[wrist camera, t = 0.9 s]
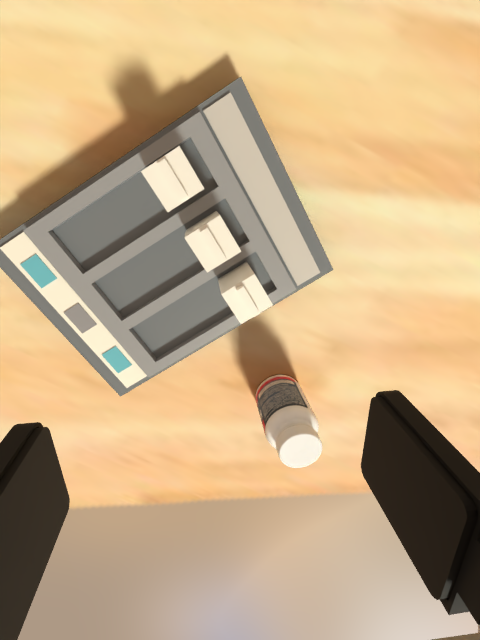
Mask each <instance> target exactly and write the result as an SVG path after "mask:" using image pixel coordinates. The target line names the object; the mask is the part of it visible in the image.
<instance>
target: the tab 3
mask: <svg viewBox="0 0 480 640" xmlns="http://www.w3.org/2000/svg"><path fill="white" fill-rule="evenodd" d="M218 283H219V287H220V291H221V295H222V296H223V298H224V299H225V301H226V302H227V304H228V305H229V307H230V309H231V310H232V312H233V313H234V315H235V316H236V318H237V319H238V321H239V322H240V324H242V323H244V322H246V321H247V320H249V319H251V318H252V317H255V316H257V315H259V314H260V313H261V312H262V311H264V310H266V309H267V308H269V307H271V306H272V305H273V304H272V302H271V301H270V299H269V297H268V296H267V294H266V292H265V290H264V289H263V287H262V285H261V284H260V282H259V280H258V279H257V277H256V275H255V274H254V272H253V271H252V269H251V268H250V266H249V265H248V263H247V262H245V263H243V264H241V265H240V266H238V267H237V268H235V269H233V270H232V271H230V272H228V273H227V274H225V275H224V276H222V277H220V278H219V279H218Z"/></svg>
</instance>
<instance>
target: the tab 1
mask: <svg viewBox="0 0 480 640" xmlns="http://www.w3.org/2000/svg"><path fill="white" fill-rule="evenodd" d="M141 172H142V174H143V175H144V177H145V179H146V180H147V182H148V183H149V185H150V186H151V188H152V189H153V191H154V192H155V194H156V195H157V197H158V198H159V200H160V201H161V203H162V205H163V206H164V208H165V209H166V211H167V212H169V211H171V210H173V209H174V208H176V207H177V206H179V205H180V204H182V203H183V202H185V201H186V200H188V199H189V198H191V197H193V196H194V195H196V194H197V193H199V192H200V191H202V190H203V189H204V187H203V185H202V184H201V182H200V180H199V179H198V177H197V175H196V173H195V172H194V170H193V168H192V167H191V165H190V163H189V162H188V160H187V158H186V156H185V155H184V153H183V151H182V150H181V148H180V146H178V147H177V148H175V149H174V150H172V151H171V152H169V153H168V154H166V155H165V156H163V157H162V158H160V159H159V160H157V161H156V162H154V163H153V164H151V165H150V166H148V167H147V168H145V169H144V170H142V171H141Z"/></svg>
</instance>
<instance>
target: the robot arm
mask: <svg viewBox="0 0 480 640" xmlns="http://www.w3.org/2000/svg"><path fill="white" fill-rule="evenodd" d="M361 469H362V473H363V476H364V478H365V480H366V482H367V483H368V485H369V487H370V489H371V490H372V492H373V494H374V496H375V497H376V499H377V501H378V503H379V504H380V506H381V508H382V509H383V511H384V513H385V515H386V517H387V518H388V520H389V522H390V523H391V525H392V527H393V529H394V530H395V532H396V534H397V536H398V538H399V539H400V541H401V543H402V545H403V546H404V548H405V550H406V552H407V553H408V555H409V557H410V559H411V560H412V562H413V564H414V566H415V567H416V569H417V571H418V572H419V574H420V576H421V578H422V580H423V581H424V583H425V585H426V587H427V588H428V590H429V592H430V593H431V595H432V596H433V597H434V598H435V599H437V600H438V599H440V601H441V602H442V604H443V606H444V607H445V609H446V611H447V612H448V614H449V615H451V614H457V613H463V612H469V611H470V613H471V614H472V616H473V617H474V619H475V621H476V622H477V624H478V633H475V634H468V635H461V636H454V637H447V638H440V639H433V640H480V473H479V472H478V471H477V470H476V469H475V468H474V467H473V466H472V465H471V464H470V463H469V462H468V460H467V459H466V458H465V457H464V456H463V455H462V454H461V453H460V452H459V451H458V450H457V449H456V448H455V447H454V446H453V445H452V444H451V443H450V442H449V441H448V440H447V439H446V438H445V437H444V436H443V435H442V434H441V433H440V432H439V431H438V430H437V429H436V428H435V427H434V426H433V425H432V424H431V423H430V422H429V421H428V420H427V419H426V418H425V417H424V416H423V415H422V414H421V413H420V412H419V411H418V410H417V409H416V408H415V406H414V405H413V404H412V403H411V402H410V401H409V400H408V399H407V398H406V397H405V396H404V395H403V394H402V393H401V392H399V391H397V390H394V391H383V392H378V393H377V394H376V397H373V398H372V399H371V403H370V409H369V416H368V422H367V429H366V436H365V442H364V449H363V455H362V462H361ZM68 509H69V495H68V491H67V488H66V484H65V481H64V478H63V474H62V471H61V467H60V464H59V461H58V457H57V454H56V450H55V447H54V444H53V440H52V437H51V433H50V430H49V429H48V428H47V427H43V425H42V424H41V423H38V422H37V423H26V424H17V425H14V426H13V427H12V429H11V430H10V431H9V432H8V434H7V435H6V436H5V438H4V439H3V440H2V442H1V443H0V640H17V639H18V636H19V634H20V631H21V629H22V626H23V623H24V621H25V618H26V616H27V613H28V611H29V608H30V606H31V603H32V601H33V598H34V596H35V593H36V591H37V588H38V586H39V583H40V581H41V578H42V576H43V573H44V571H45V568H46V565H47V563H48V560H49V558H50V555H51V553H52V550H53V548H54V545H55V543H56V540H57V538H58V535H59V533H60V530H61V527H62V525H63V522H64V520H65V517H66V515H67V512H68Z"/></svg>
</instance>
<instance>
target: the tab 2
mask: <svg viewBox="0 0 480 640" xmlns="http://www.w3.org/2000/svg"><path fill="white" fill-rule="evenodd" d="M184 238H185V240H186V241H187V243H188V244H189V246H190V247H191V249H192V250H193V252H194V253H195V255H196V257H197V258H198V260H199V261H200V263H201V264H202V266H203V267H204V269H205V270H206V272H209V271H211V270H212V269H214V268H216V267H217V266H219V265H220V264H222V263H224V262H225V261H227V260H228V259H230V258H232V257H233V256H235V255H236V254H238V253H240V252H241V250H240V248H239V246H238V245H237V243H236V241H235V240H234V238H233V236H232V234H231V233H230V231H229V229H228V228H227V226H226V224H225V223H224V221H223V219H222V218H221V216H220V214H219V213H218V212H217V211H215V212H213V213H212V214H210V215H209V216H207V217H206V218H204V219H202V220H201V221H199V222H198V223H196V224H195V225H193V226H191V227H190V228H188V229H187V230H186V232H185V237H184Z"/></svg>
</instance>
